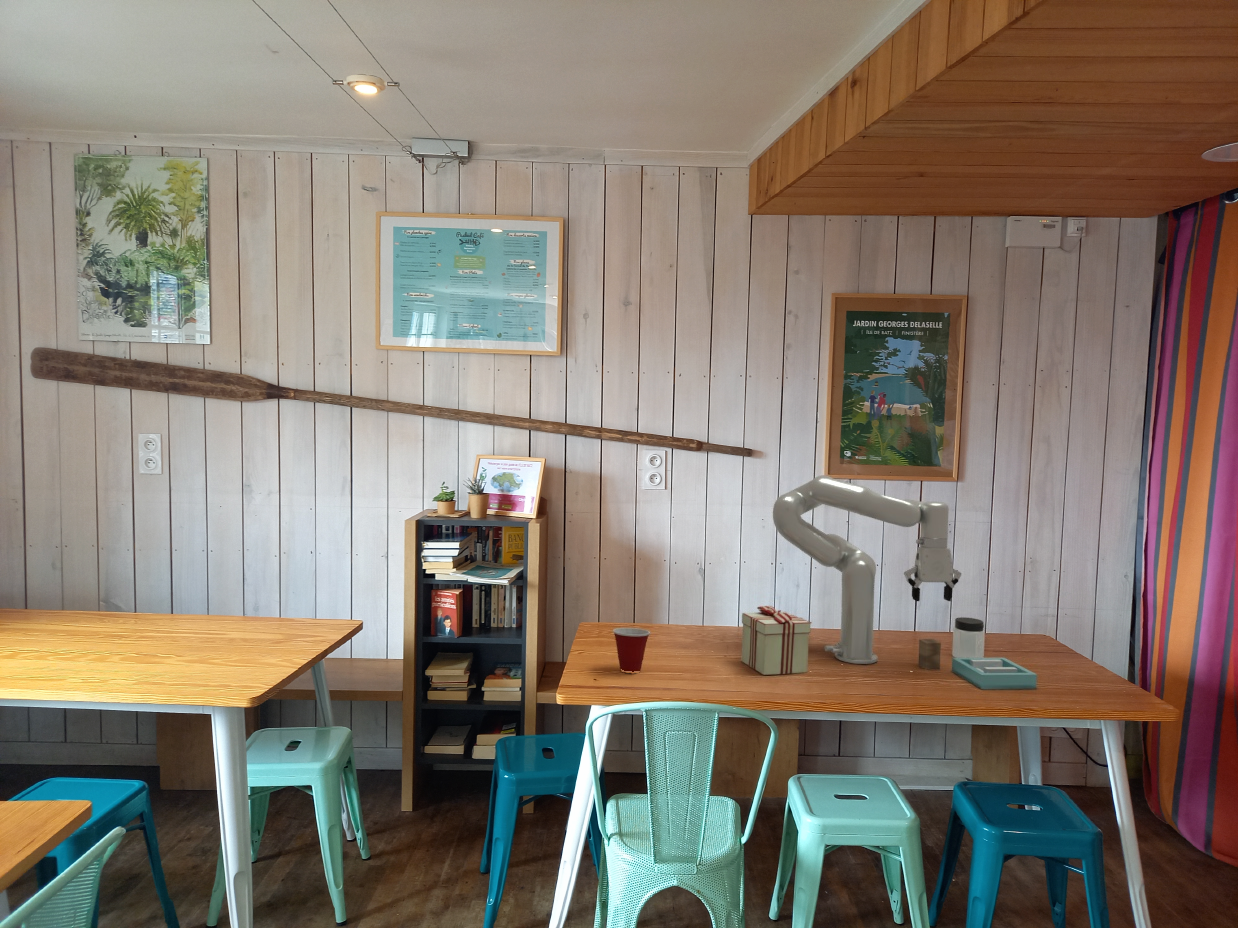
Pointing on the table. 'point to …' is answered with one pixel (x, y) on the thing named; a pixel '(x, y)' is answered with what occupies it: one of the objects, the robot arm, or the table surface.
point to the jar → (968, 638)
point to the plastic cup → (631, 647)
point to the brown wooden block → (929, 654)
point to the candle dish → (994, 673)
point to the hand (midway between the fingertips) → (931, 600)
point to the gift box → (775, 641)
